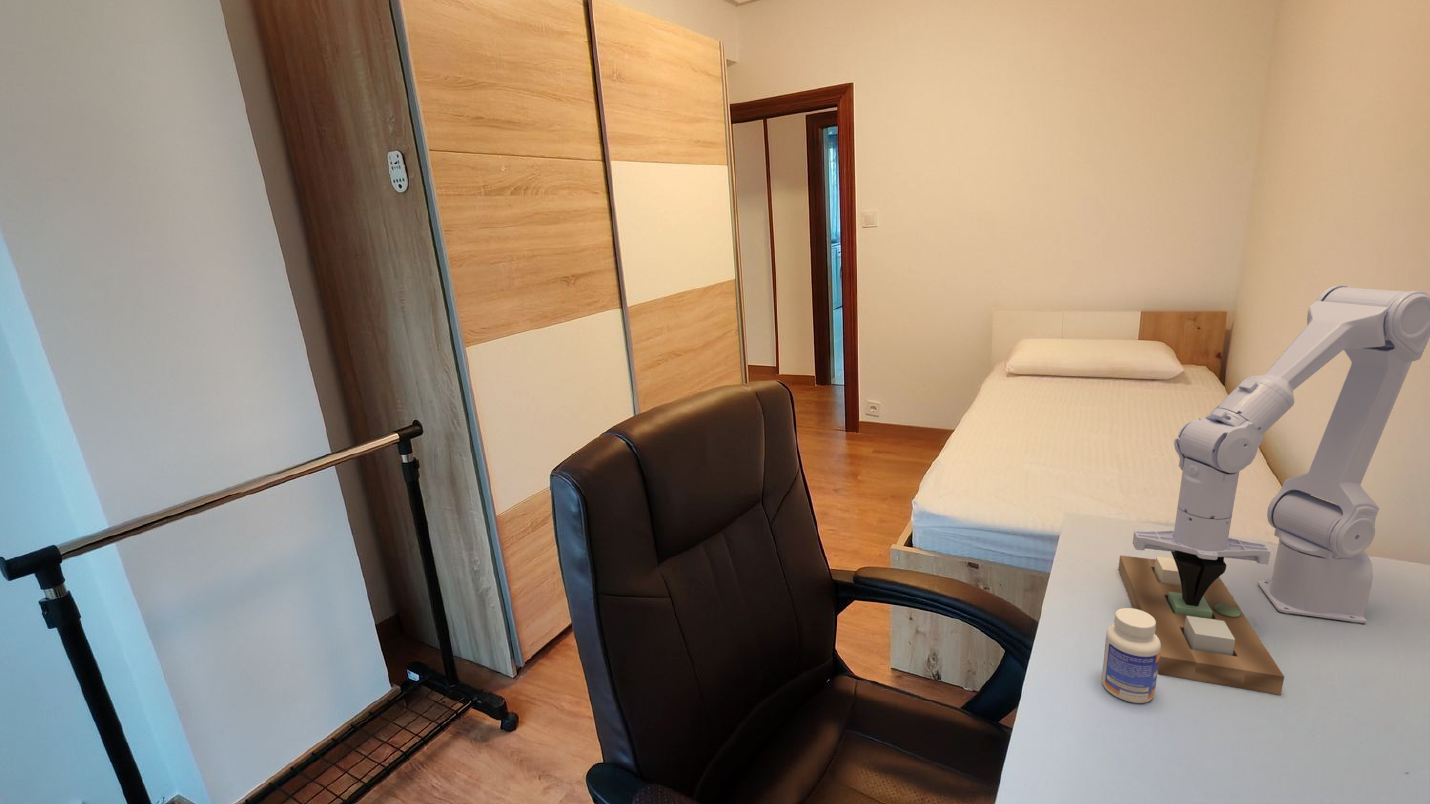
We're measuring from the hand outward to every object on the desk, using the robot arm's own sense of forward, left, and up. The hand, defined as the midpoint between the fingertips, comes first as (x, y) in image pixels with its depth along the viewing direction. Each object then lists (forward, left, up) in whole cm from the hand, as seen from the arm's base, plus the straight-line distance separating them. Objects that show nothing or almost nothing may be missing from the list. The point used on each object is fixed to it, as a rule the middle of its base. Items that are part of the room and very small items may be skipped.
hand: (1189, 601), depth 88 cm
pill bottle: (+10, +17, -3) cm, 20 cm away
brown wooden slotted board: (0, 0, -3) cm, 3 cm away
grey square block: (0, +8, -2) cm, 8 cm away
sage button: (0, 0, -3) cm, 3 cm away
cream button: (0, -8, -2) cm, 8 cm away
